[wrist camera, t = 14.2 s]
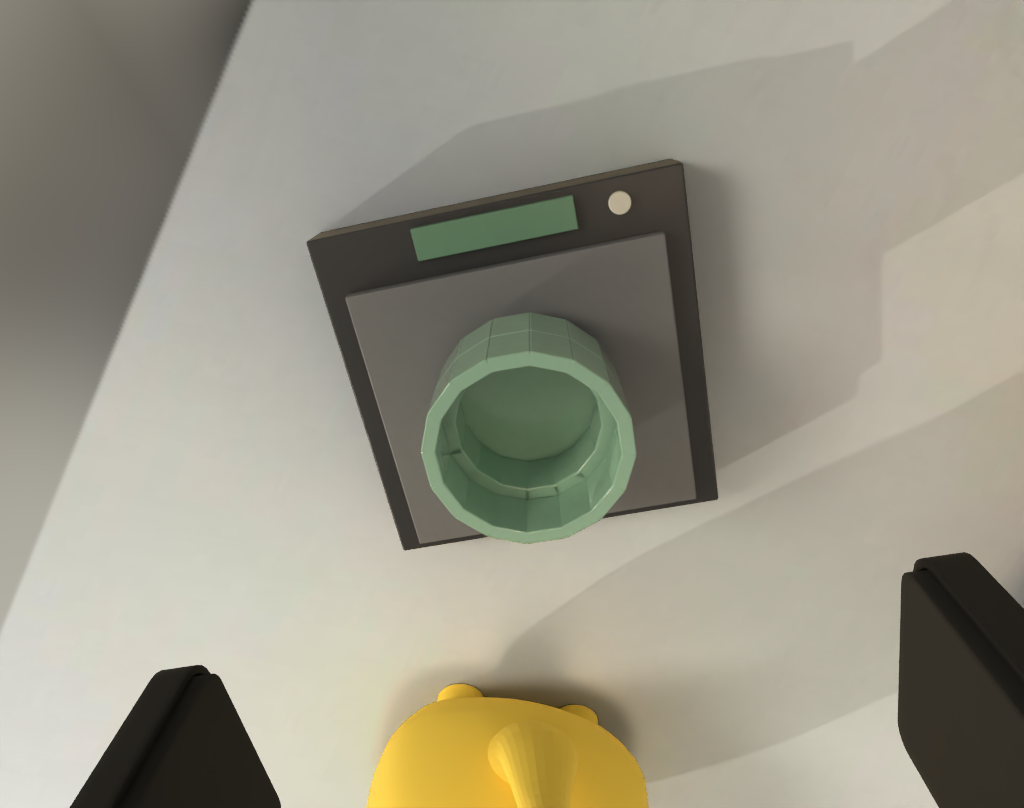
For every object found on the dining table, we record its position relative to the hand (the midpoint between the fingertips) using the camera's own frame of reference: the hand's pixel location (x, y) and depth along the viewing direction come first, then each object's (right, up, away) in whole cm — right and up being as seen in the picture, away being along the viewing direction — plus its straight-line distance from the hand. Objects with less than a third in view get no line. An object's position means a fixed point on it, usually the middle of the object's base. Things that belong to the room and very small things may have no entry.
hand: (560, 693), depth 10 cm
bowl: (0, +4, +18) cm, 19 cm away
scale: (0, +6, +20) cm, 21 cm away
